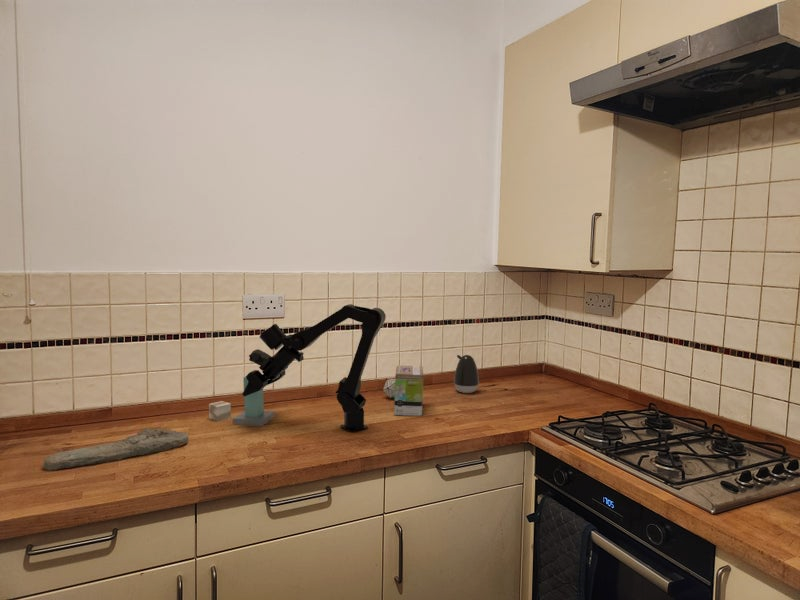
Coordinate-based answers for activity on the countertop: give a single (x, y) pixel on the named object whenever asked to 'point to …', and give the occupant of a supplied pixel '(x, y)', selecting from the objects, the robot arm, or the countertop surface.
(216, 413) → the cream cube
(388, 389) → the game die
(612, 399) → the countertop surface
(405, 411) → the tea box
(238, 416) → the slate slab
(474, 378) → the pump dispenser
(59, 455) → the long grey stone
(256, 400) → the teal block
